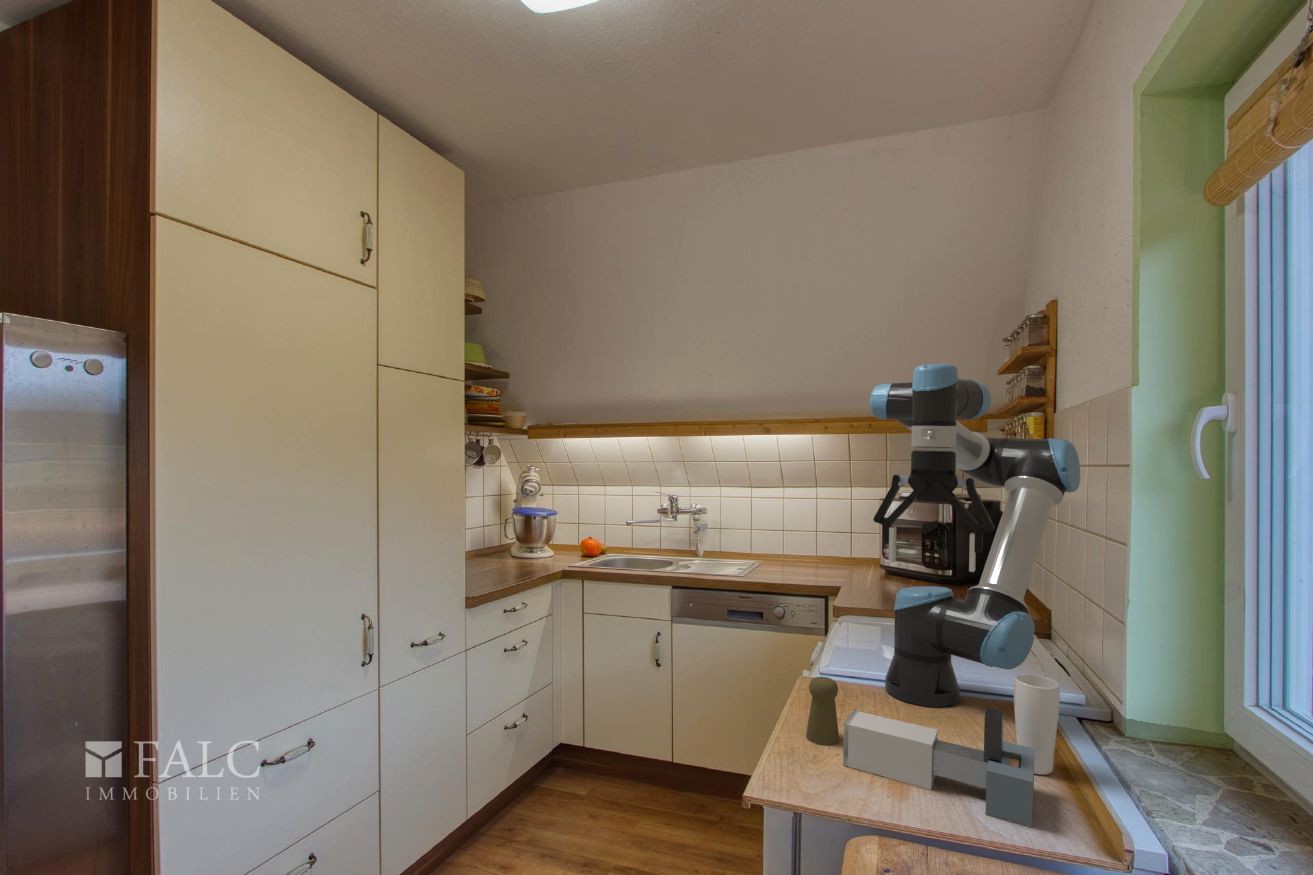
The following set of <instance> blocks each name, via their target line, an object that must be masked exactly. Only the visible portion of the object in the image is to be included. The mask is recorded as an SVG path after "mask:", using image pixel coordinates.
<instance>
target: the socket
mask: <svg viewBox="0 0 1313 875" xmlns="http://www.w3.org/2000/svg"><path fill="white" fill-rule="evenodd" d="M1034 752H1035V749H1034V748H1030V747H1025V746H1021V745H1017V743H1011V742H1007V741H1003V756H1007V757H1013V758H1017V759H1019V768H1018V767H1014V766H1009V765H1005V764H1001V763H997V762H993V761H989V760H988V765H987V770H986V788H985V815H986V816H990V817H993V818H997V819H1000V820H1003V819H1004V820H1003V821H1007V820H1010V821H1013V822H1012V823H1014V822H1017V823H1020V824H1019V825H1021V824H1024V825H1029V826H1032V827H1033V811H1034V808H1033V807H1034V790H1035V788H1034V787H1035V786H1034V784H1035V774H1034ZM1010 821H1009V822H1010ZM1017 823H1016V824H1017ZM1024 825H1023V826H1024Z"/></svg>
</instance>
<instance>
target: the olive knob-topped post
mask: <svg viewBox="0 0 1313 875" xmlns="http://www.w3.org/2000/svg"><path fill="white" fill-rule="evenodd" d="M808 689H809V693H810V695H811V702H810V706H809V707H810V708H809V715H808V718H807V719H808V721H807V726H806V733H805V737H806V739H807V740H808V742H811V743H812V742H813V744H815V743H816V744H815V745H818V746H823V745H830V746H835V745H838V744H839V742H840V734H839V726H838V723H839V722H838V716H837V706H836V698H837V696H838V692H839V687H838V684H837V682H836V681H835V679H832V678H830V677H827V676H815V677H812V679H811V680H810V681H809V685H808Z"/></svg>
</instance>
